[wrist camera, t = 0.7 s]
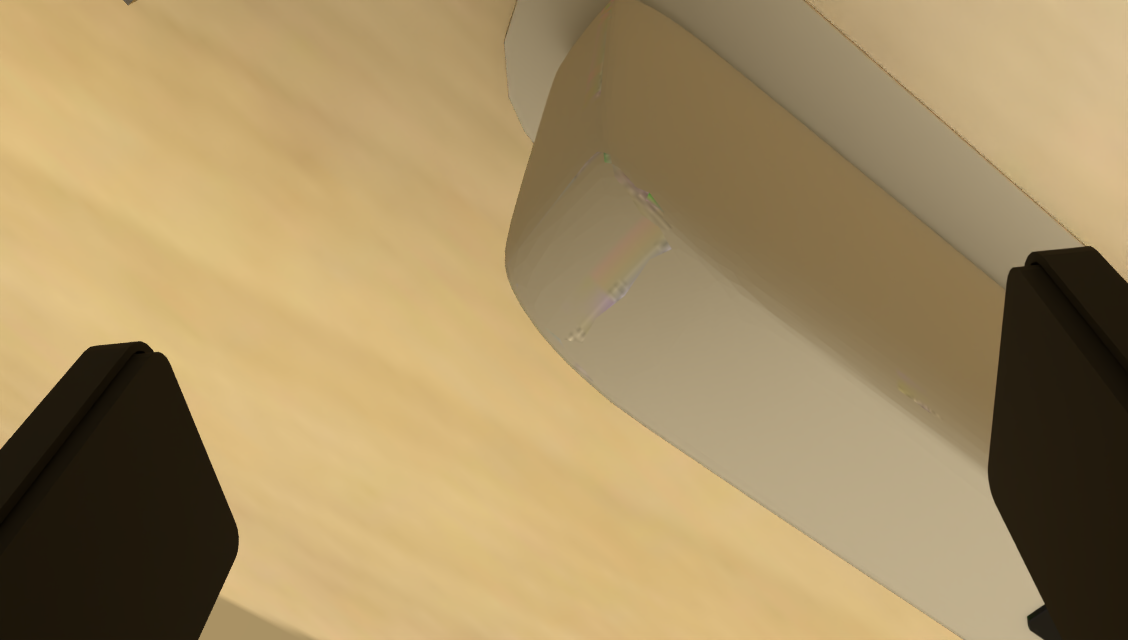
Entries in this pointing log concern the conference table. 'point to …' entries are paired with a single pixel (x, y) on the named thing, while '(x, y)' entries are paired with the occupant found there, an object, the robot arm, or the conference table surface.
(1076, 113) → the conference table surface
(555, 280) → the wireless router
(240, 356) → the conference table surface
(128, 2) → the rack
